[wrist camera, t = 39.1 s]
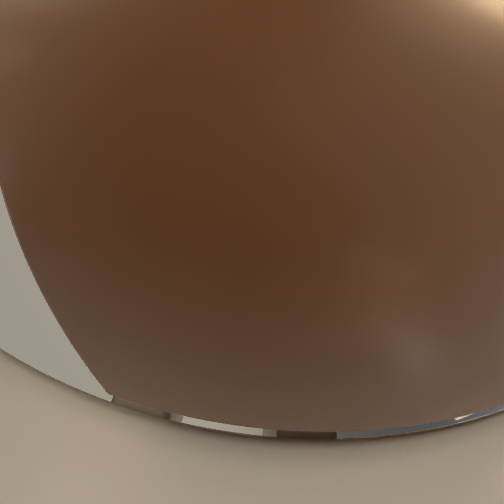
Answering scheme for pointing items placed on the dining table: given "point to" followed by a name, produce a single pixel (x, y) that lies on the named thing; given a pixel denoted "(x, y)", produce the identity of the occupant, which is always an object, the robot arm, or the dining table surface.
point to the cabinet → (265, 202)
